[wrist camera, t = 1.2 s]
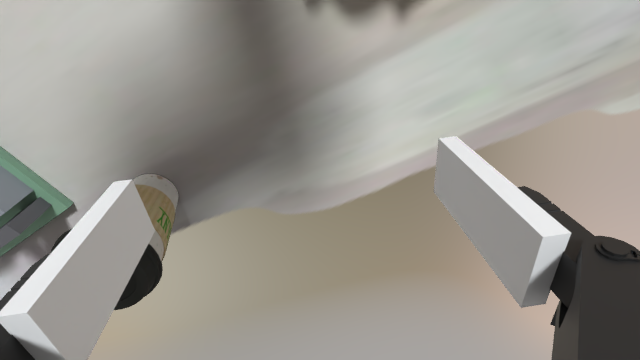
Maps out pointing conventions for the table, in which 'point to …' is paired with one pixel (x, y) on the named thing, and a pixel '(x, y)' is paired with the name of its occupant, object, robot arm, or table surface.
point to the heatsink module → (24, 202)
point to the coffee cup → (161, 211)
